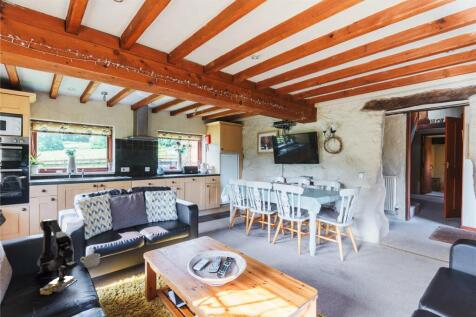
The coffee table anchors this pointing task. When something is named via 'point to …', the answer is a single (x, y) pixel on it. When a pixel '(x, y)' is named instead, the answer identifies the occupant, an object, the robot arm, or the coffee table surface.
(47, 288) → the knob backplate
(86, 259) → the teacup
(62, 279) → the pin
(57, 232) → the robot arm
